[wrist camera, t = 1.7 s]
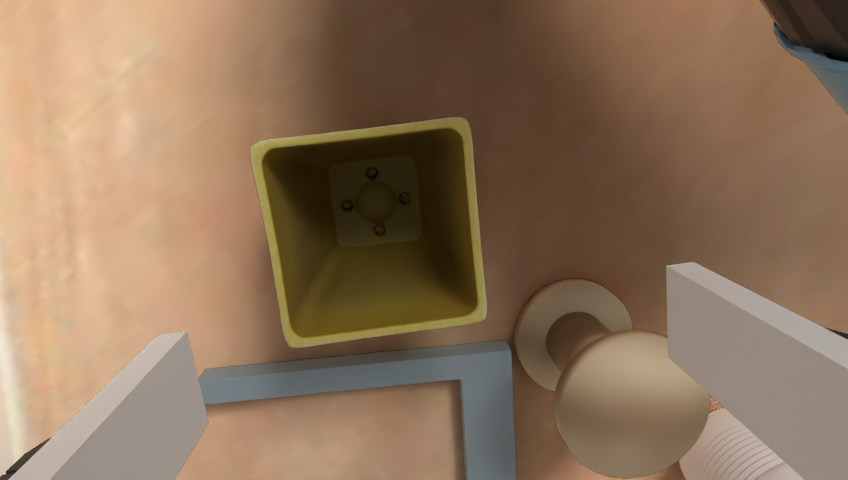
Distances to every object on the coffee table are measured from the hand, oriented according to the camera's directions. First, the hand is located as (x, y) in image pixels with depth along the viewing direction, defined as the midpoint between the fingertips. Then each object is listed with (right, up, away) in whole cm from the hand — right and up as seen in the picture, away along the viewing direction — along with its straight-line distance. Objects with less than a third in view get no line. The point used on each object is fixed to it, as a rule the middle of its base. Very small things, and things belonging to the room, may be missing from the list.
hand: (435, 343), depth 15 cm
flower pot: (-3, +5, +16) cm, 17 cm away
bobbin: (+9, -3, +19) cm, 21 cm away
